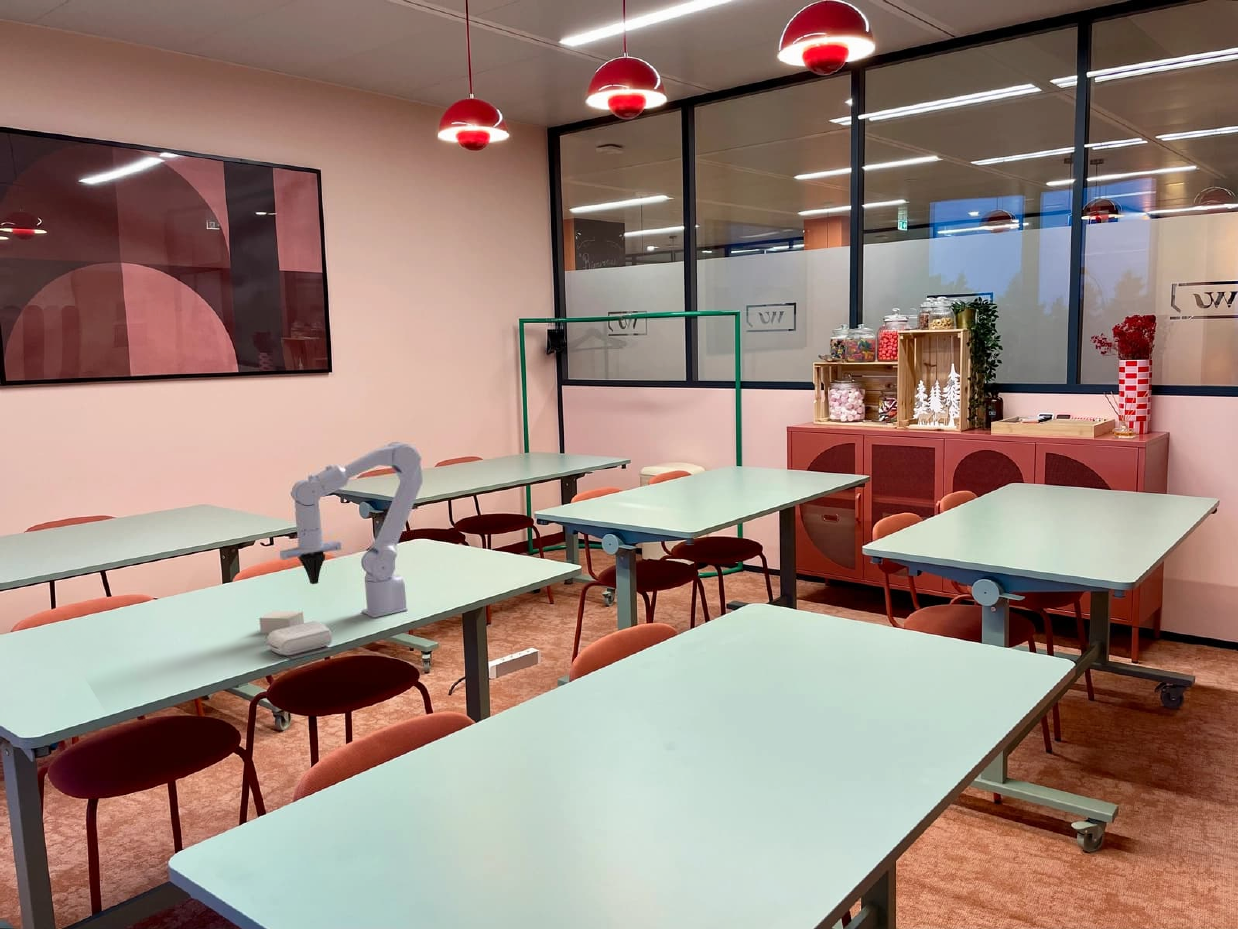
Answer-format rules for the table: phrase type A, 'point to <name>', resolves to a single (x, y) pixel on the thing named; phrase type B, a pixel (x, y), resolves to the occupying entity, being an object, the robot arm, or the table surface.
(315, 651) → the mat
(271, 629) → the card box
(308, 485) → the robot arm
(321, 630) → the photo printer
